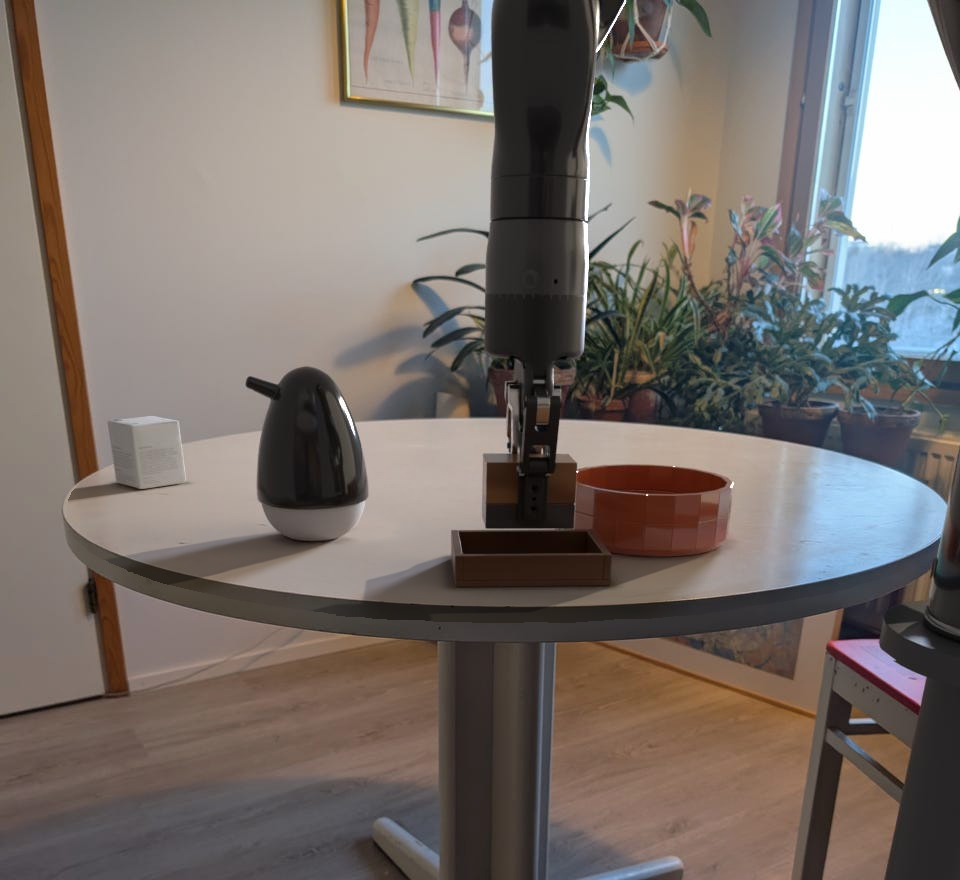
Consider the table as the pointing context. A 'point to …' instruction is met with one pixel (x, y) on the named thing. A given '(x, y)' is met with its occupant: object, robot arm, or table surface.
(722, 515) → the bowl
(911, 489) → the table surface
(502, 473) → the eraser
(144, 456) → the product carton
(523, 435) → the robot arm
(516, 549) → the tray
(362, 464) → the pump dispenser
